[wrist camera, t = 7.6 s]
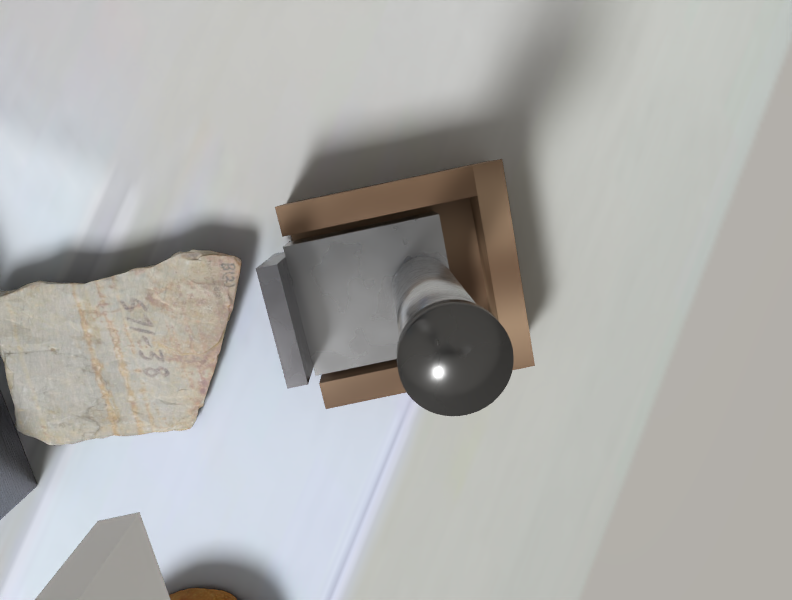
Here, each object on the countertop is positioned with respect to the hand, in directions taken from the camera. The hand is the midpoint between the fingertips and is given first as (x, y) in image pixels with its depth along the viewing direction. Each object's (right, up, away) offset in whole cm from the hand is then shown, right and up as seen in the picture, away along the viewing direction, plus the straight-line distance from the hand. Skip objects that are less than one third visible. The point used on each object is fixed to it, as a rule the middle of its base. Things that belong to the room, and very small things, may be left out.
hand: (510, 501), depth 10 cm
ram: (-4, +4, +21) cm, 22 cm away
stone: (-19, +2, +23) cm, 30 cm away
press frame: (-2, +5, +22) cm, 23 cm away
